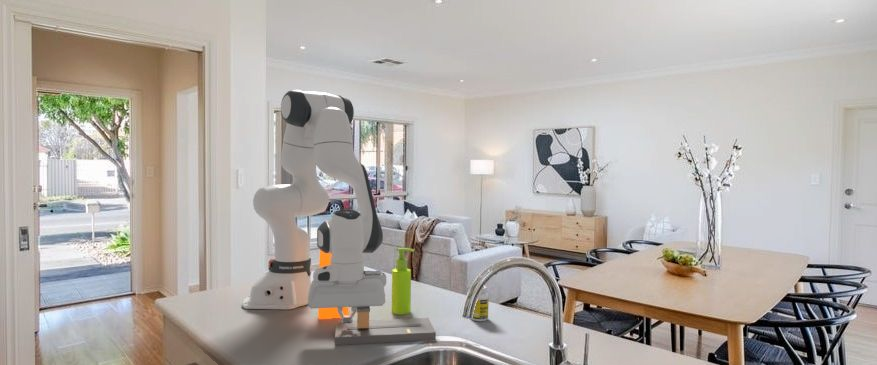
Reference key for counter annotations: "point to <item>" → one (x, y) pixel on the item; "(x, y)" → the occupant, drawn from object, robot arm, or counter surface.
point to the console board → (385, 331)
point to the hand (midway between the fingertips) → (347, 322)
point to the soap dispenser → (401, 285)
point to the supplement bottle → (481, 306)
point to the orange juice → (328, 312)
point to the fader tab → (363, 317)
